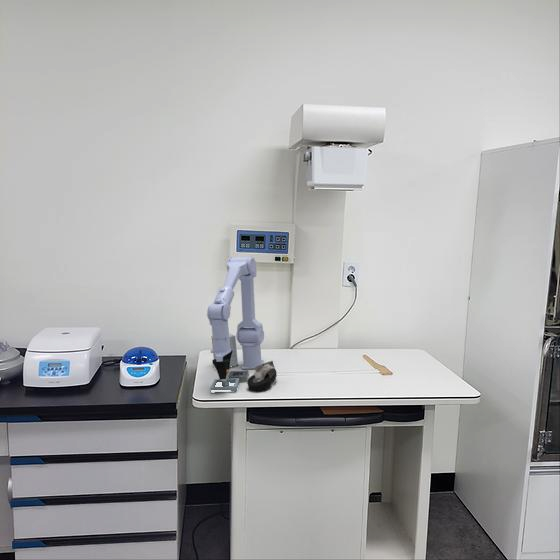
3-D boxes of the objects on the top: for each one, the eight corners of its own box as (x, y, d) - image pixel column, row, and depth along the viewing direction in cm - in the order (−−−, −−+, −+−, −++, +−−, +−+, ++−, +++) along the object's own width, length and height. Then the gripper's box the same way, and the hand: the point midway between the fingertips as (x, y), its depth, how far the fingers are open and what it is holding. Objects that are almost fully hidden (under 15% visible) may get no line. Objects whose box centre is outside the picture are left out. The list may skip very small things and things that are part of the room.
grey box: (230, 361, 206) (227, 332, 204) (238, 366, 200) (235, 335, 198) (213, 366, 202) (210, 335, 201) (221, 370, 196) (218, 339, 194)
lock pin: (221, 385, 178) (220, 368, 177) (230, 384, 178) (229, 368, 177) (220, 388, 175) (219, 371, 174) (229, 387, 175) (228, 371, 174)
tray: (215, 384, 181) (214, 379, 181) (239, 382, 181) (239, 378, 180) (210, 393, 172) (210, 388, 172) (236, 392, 172) (236, 386, 171)
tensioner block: (230, 376, 188) (229, 371, 188) (248, 375, 188) (248, 370, 188) (227, 382, 181) (227, 377, 181) (246, 381, 181) (246, 376, 181)
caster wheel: (253, 400, 170) (247, 386, 179) (284, 388, 172) (276, 375, 182) (248, 383, 168) (242, 370, 177) (279, 372, 170) (272, 359, 179)
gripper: (213, 332, 181) (216, 368, 183) (205, 344, 167) (209, 383, 169) (232, 331, 181) (235, 367, 183) (226, 342, 166) (230, 381, 168)
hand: (224, 375), depth 176 cm, fingers open, 7 cm apart
